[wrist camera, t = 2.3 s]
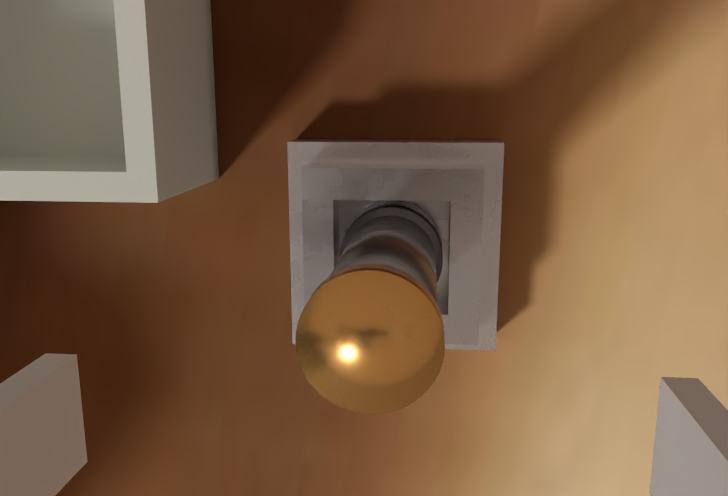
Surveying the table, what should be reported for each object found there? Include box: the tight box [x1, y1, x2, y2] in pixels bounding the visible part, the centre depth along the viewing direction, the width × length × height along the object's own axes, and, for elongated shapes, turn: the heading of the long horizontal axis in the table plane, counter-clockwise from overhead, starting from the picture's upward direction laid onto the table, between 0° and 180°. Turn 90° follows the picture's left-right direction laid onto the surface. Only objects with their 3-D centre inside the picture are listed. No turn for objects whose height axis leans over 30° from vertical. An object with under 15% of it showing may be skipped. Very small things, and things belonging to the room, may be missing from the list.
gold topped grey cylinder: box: [295, 200, 445, 414], centre depth 27 cm, size 5×5×13 cm
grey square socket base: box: [288, 139, 504, 351], centre depth 33 cm, size 10×10×4 cm
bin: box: [0, 0, 219, 203], centre depth 30 cm, size 14×14×8 cm
